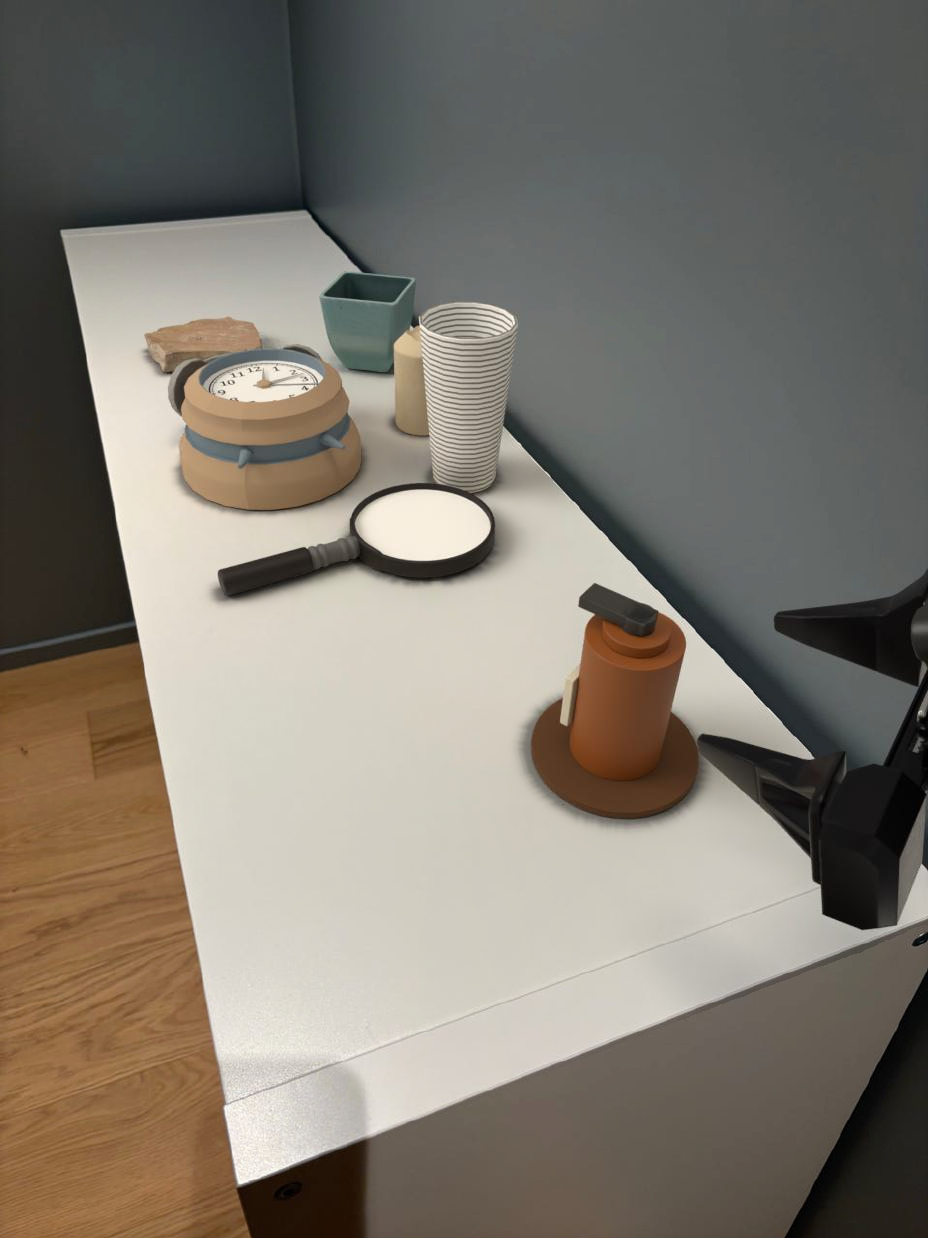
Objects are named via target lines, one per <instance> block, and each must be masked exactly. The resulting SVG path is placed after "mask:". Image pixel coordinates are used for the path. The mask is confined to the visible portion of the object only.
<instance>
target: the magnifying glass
mask: <svg viewBox="0 0 928 1238" xmlns="http://www.w3.org/2000/svg"><path fill="white" fill-rule="evenodd" d="M495 520H496V519H495V516H494V513H493V511H492V509H491V507H489V505H488V504H487V503H486V502H484V500H483V499H481V498H480V497H478V496H476V495H475V494H474V493H469V492H467V491H464V490H462V489H459V488H456V487H452V486H447V485H442V484H437V483H435V482H434V483H432V482H414V483H413V482H411V483H410V482H409V483H402V484H397V485H392V486H389V487H386V488H383V489H380V490H378V491H376V492H374V493H372V494H369V495H368V496H367V497H365V498H364V499H362V500H361V501H360V502H359V503H358V504H357V505H356V507H355V508H354V509H353V511H352V513H351V516H350V517H349V535H347V536H345V538H344V537H340V538H337V540H334V541H331V542H327V543H318V544H317V545H316V546H315V545H311V546H309V547H306V546H301V547H298V548H293V549H291V550H287V551H282V552H280V553H275V554H272V555H268V556H264V557H261V558H258V559H257V558H256V559H253V560H249V561H246V562H242V563H239V564H235V565H230V566H228V567H224V568H221V569H219V570H218V571H217V579H218V584H219V586H220V589H221V591H222V593H223V595H224V596H227V597H228V596H232V595H235V594H239V593H244V592H246V591H250V590H253V589H257V588H260V587H263V586H268V585H271V584H274V583H278V582H282V581H285V580H288V579H292V578H296V577H299V576H303V575H306V574H309V573H312V572H313V571H314V570H319V569H321V567H322V568H326V567H329V565H331V564H336V563H339V562H347V561H349V560H350V559H351V560H356V559H357V558H359V559H360V560H361V561H362V562H363V563H365V564H366V565H367V566H369V567H370V568H372V569H374V570H376V571H378V572H381V571H382V572H386V573H389V574H392V575H396V576H402V577H406V578H421V579H422V578H428V579H429V578H438V577H445V576H449V575H453V574H457V573H461V572H463V571H466V570H468V569H470V568H472V567H473V566H475V565H478V563H480V562H481V561H482V560H483V559H485V558H486V556H488V554H489V553H490V552H491V550H492V548H493V546H494V543H495V536H496V521H495Z"/></svg>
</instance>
